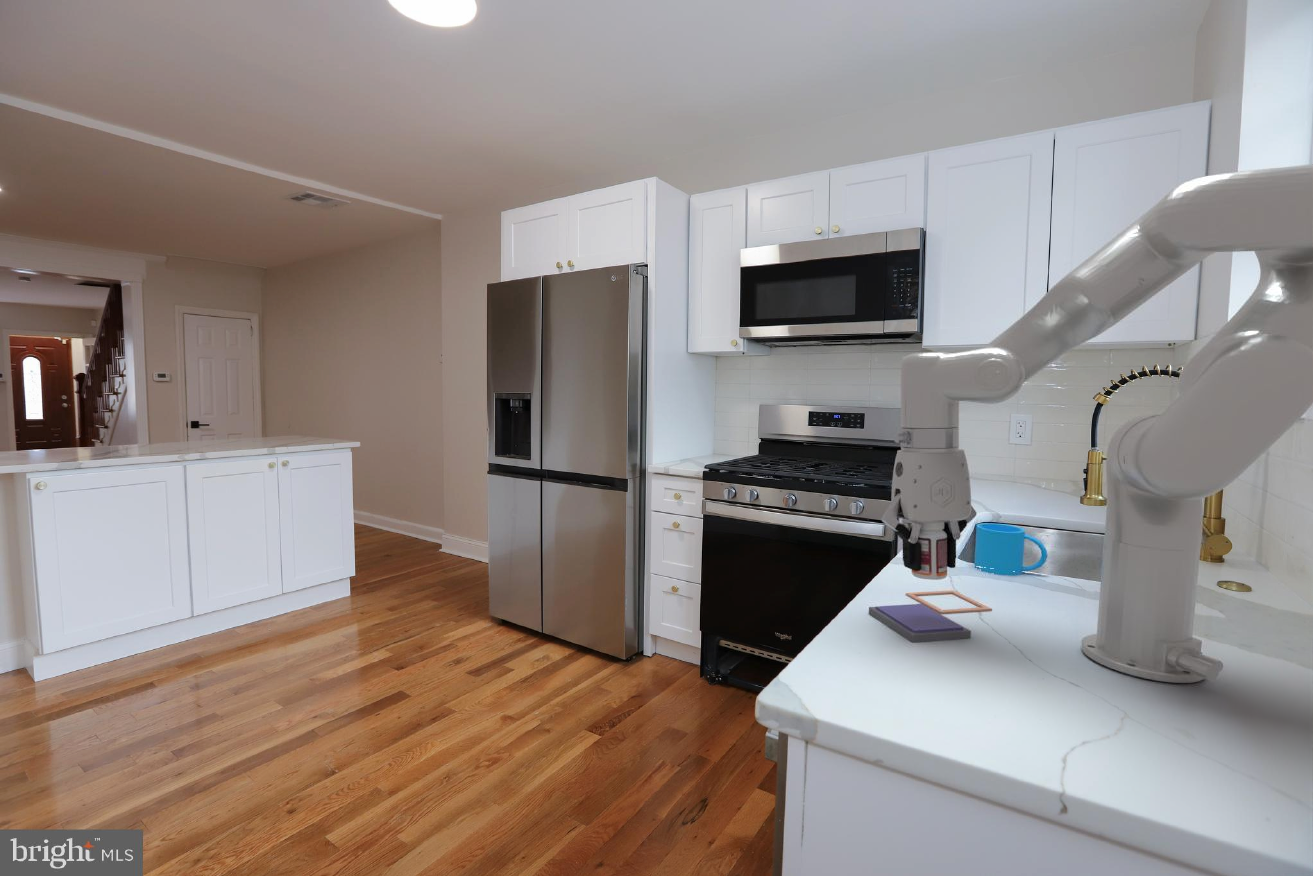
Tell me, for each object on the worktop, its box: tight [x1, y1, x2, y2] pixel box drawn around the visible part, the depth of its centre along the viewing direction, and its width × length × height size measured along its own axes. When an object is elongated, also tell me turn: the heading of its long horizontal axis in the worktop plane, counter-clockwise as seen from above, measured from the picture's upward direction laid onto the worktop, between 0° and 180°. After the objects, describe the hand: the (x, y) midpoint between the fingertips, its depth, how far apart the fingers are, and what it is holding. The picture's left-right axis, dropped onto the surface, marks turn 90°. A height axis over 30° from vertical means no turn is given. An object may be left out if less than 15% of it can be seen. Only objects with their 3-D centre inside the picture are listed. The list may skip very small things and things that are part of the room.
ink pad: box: [868, 603, 972, 643], centre depth 91 cm, size 11×9×1 cm
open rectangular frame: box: [905, 589, 993, 615], centre depth 102 cm, size 9×9×1 cm
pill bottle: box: [911, 522, 948, 581], centre depth 90 cm, size 5×5×8 cm
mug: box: [973, 522, 1048, 577], centre depth 120 cm, size 12×8×8 cm
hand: (929, 565), depth 90 cm, fingers closed on pill bottle, 4 cm apart
